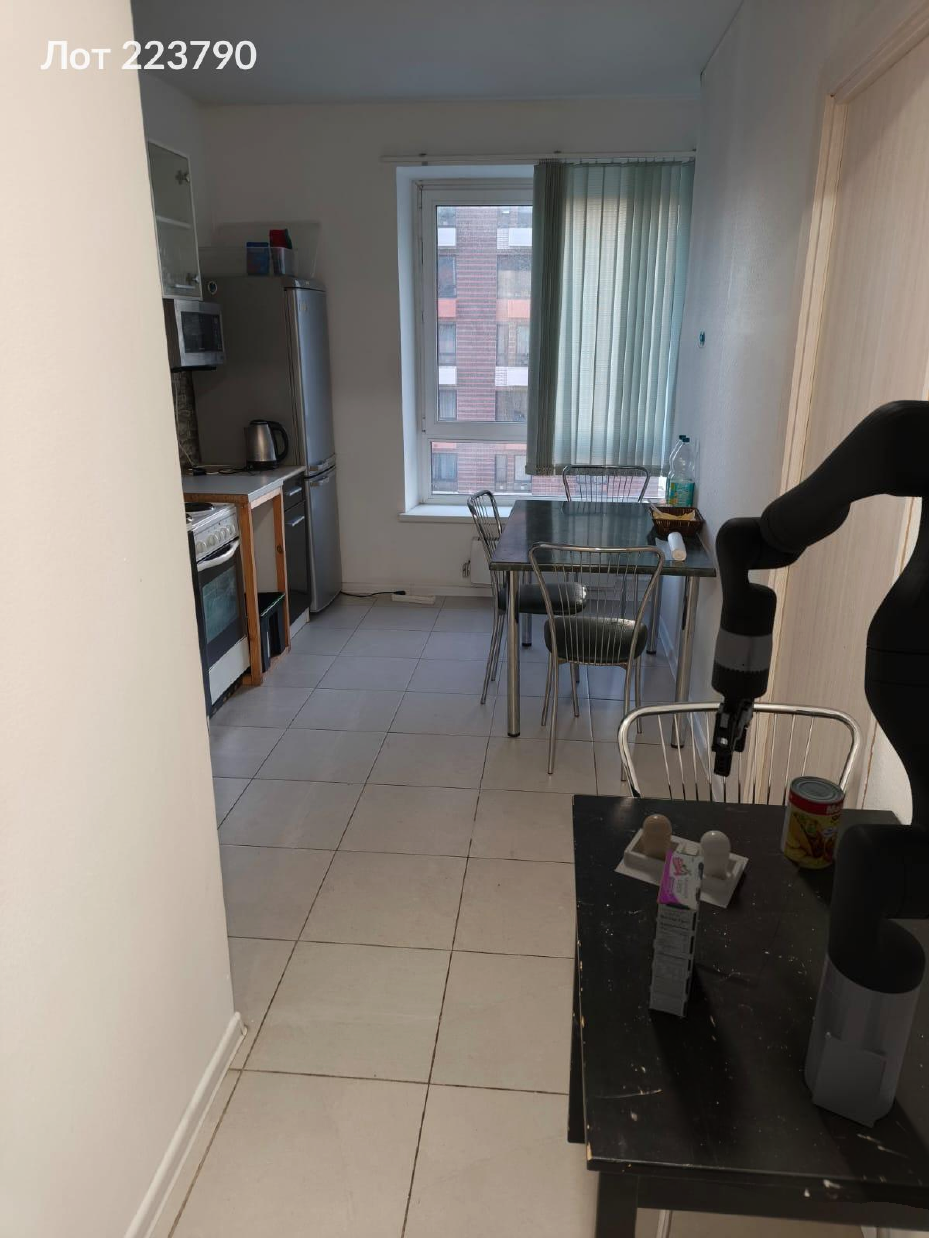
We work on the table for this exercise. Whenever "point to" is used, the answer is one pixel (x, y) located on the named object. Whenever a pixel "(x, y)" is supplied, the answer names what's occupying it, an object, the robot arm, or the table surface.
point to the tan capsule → (656, 837)
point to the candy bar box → (675, 933)
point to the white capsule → (715, 854)
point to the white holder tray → (653, 868)
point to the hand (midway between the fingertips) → (729, 762)
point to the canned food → (812, 821)
